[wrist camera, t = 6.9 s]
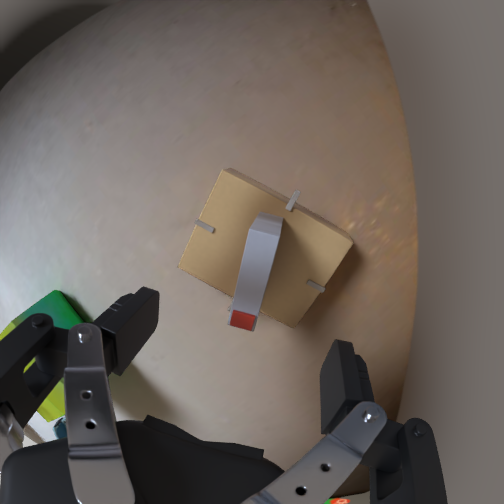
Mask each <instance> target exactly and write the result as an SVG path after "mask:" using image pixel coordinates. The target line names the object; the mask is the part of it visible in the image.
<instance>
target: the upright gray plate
mask: <svg viewBox="0 0 504 504" xmlns="http://www.w3.org/2000/svg"><path fill="white" fill-rule="evenodd" d="M282 223H283V217H279V216H276V215H272V214H268V213H264V212H259V214H258V215H257V217H256V219H255V220H254V222H253V224H252V225H251V227H250V229H249V232H248V236H247V240H246V245H245V249H244V254H243V258H242V262H241V267H240V271H239V276H238V280H237V285H236V289H235V293H234V298H233V302H232V307H231V311H230V316H229V320H228V325H231V326H234V327H238V328H241V329H245V330H249V331H254V329H255V326H256V322H257V319H258V315H259V312H260V308H261V305H262V301H263V297H264V294H265V290H266V287H267V283H268V280H269V276H270V272H271V269H272V265H273V261H274V258H275V254H276V250H277V247H278V243H279V239H280V234H281V229H282Z"/></svg>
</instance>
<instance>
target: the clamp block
mask: <svg viewBox="0 0 504 504" xmlns="http://www.w3.org/2000/svg"><path fill="white" fill-rule="evenodd" d="M300 193H301V192H300V191H298V190H295V192H294V194H293V195H292V197H291V199H288V198H287V197H285V196H283V195H281V194H279V193H278V192H276V191H274V190H272V189H270V188H268V187H266V186H265V185H263V184H261V183H259V182H257V181H255V180H253V179H251V178H249V177H248V176H246V175H244V174H242V173H240V172H238V171H236V170H234V169H232V168H228V169H224V170H222V171H221V173H220V175H219V177H218V179H217V181H216V183H215V185H214V187H213V189H212V192H211V194H210V196H209V198H208V200H207V202H206V204H205V206H204V209H203V211H202V213H201V215H200V217H199V219H196V221H195V224H196V226H195V228H194V231H193V233H192V235H191V237H190V240H189V242H188V244H187V246H186V249H185V251H184V253H183V256H182V258H181V260H180V263H179V265H178V268H180V269H182V270H184V271H185V272H187V273H189V274H191V275H193V276H194V277H196V278H198V279H200V280H202V281H203V282H205V283H207V284H209V285H211V286H213V287H214V288H216V289H218V290H220V291H222V292H224V293H225V294H227V295H229V296H231V297H233V298H234V293H235V289H236V285H237V280H238V276H239V271H240V267H241V262H242V258H243V254H244V249H245V245H246V240H247V236H248V232H249V229H250V227H251V225H252V224H253V222H254V220H255V219H256V217H257V215H258V214H259V212H264V213H268V214H272V215H276V216H279V217H283V223H282V229H281V234H280V239H279V243H278V247H277V250H276V254H275V258H274V261H273V265H272V269H271V272H270V276H269V280H268V283H267V287H266V290H265V294H264V297H263V301H262V305H261V308H260V312H262V313H264V314H266V315H268V316H270V317H272V318H274V319H276V320H278V321H280V322H282V323H284V324H286V325H288V326H290V327H292V328H295V327H296V325H297V324H298V323H299V321H300V320H301V319H302V317H303V316H304V314H305V313H306V312H307V310H308V309H309V308H310V306H311V305H312V303H313V302H314V301H315V299H316V298H317V296H318V295H319V294H320V292H322V293H323V292H324V291H325V289H326V288H324V286H325V285H326V284H327V282H328V281H329V279H330V278H331V276H332V275H333V273H334V272H335V270H336V269H337V267H338V266H339V264H340V263H341V261H342V260H343V258H344V257H345V255H346V254H347V252H348V251H349V249H350V248H351V246H352V245H353V241H352V239H351V238H350V236H349V235H348V233H347V232H345V231H344V230H342V229H340V228H339V227H337V226H335V225H334V224H332V223H330V222H329V221H327V220H325V219H324V218H322V217H320V216H318V215H317V214H315V213H313V212H312V211H310V210H308V209H306V208H305V207H303V206H301V205H299V204H297V203H296V200H297V198H298V197H299V195H300ZM232 302H233V301H232ZM231 307H232V303H231V304H230V306H229V308H228V311H231Z"/></svg>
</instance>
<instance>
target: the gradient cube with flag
mask: <svg viewBox="0 0 504 504" xmlns="http://www.w3.org/2000/svg"><path fill="white" fill-rule="evenodd" d="M35 313H45V314H48V315H50V316H51V317H52V319H53V322H54V326H55V327H60V328H64V329H69V330H70V328H71V327H73V326H74V325H76V324H79V323H85V322H84V321H83V320H82V319H81V318H80V316H79V315H78V314H77V313H76V311H75V310H74V309H73V308H72V306H71V305H70V304H69V303H68V301H67V300H66V299H65V297H64V296H63V295H62V293H61V292H60V291H58V290H54V291H52V292H51V293H49V294H48V295H47V296H45V297H44V298H42V299H41V300H40V301H38V302H37V303H35V304H34V305H33V306H31V307H30V308H29V309H27V310H26V311H24V312H23V313H22V314H20V315H19V316H18V317H16V318H15V319H14V320H12V321H11V322H10V324H9V325H8V326H7V327H6V328H5V329H4V330H3V332H2V333H1V334H0V341H1V340H2V339H3V338H4V337H5V336H6V335H7V334H9V333H10V332H11V331H12V330H13V329H14V328H16V327H17V326H18V325H19V324H20V323H21V322H23V321H24V320H25V319H26V318H27V317H29V316H30V315H32V314H35ZM34 361H35V358H33V360H32V361H31V362H30V363H29V364H28V365H27V366H26V367H25V369H24V372H25V371H26V370H27V369H28V368H29V367H30V366H31V365H32V364H33V363H34ZM37 412H38V413H39V414H40V415H41V416H42V417H43V418H44V419H45V420H46V421H47V422H50V421H53V420H55V419H57V418H59V417H61V416H64V415H65V402H64V378H63V377H62V379H61V380H60V381H59V382H58V384H57V385H56V386H55V387H54V389H53V390H52V391H51V392H50V394H49V395H48V396H47V397H46V399H45V400H44V401H43V403H42V404H41V405H40V407H39V408H38V409H37Z"/></svg>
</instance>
